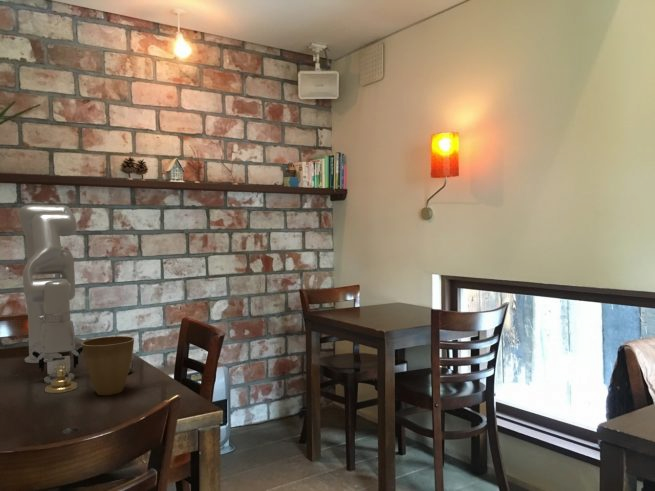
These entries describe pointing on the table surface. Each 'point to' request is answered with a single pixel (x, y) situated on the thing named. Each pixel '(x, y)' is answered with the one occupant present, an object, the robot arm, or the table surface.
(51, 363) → the square sleeve
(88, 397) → the table surface
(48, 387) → the hub
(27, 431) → the table surface
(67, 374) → the stand
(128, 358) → the plant pot
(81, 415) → the table surface
